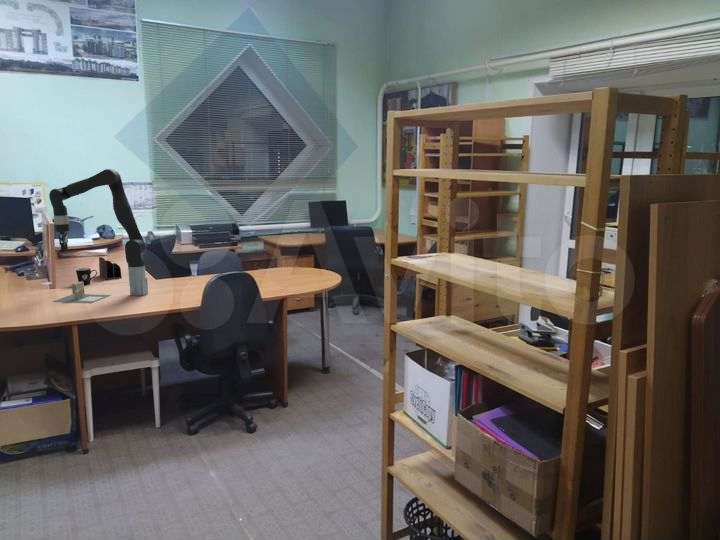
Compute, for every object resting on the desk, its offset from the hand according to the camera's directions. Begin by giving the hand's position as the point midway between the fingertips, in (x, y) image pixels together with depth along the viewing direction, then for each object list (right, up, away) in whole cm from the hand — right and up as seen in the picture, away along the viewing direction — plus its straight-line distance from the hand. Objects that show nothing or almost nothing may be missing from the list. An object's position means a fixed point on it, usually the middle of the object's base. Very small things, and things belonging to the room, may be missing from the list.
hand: (64, 250), depth 315 cm
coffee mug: (-4, -21, +33) cm, 39 cm away
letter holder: (0, -16, +57) cm, 60 cm away
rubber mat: (+15, -29, -9) cm, 33 cm away
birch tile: (+13, -28, -9) cm, 32 cm away
